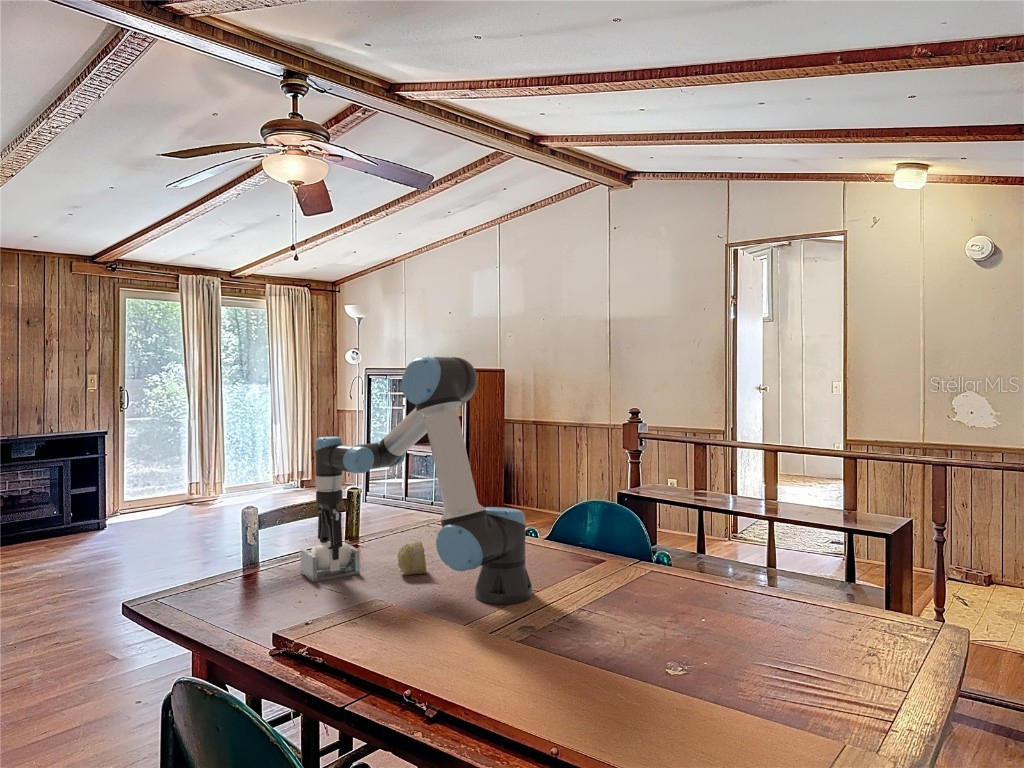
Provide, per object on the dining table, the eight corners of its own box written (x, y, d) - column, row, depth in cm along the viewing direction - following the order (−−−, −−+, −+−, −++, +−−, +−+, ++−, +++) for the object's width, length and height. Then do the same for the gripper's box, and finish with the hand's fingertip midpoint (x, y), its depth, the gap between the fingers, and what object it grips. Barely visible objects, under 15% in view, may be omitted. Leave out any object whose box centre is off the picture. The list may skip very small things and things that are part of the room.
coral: (438, 553, 204) (405, 541, 202) (423, 585, 204) (391, 573, 202) (436, 542, 213) (405, 531, 211) (422, 573, 213) (391, 561, 211)
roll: (341, 565, 213) (340, 541, 214) (350, 567, 207) (348, 542, 208) (311, 570, 208) (310, 545, 209) (319, 572, 202) (317, 547, 203)
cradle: (346, 565, 217) (346, 542, 216) (359, 573, 207) (359, 550, 207) (300, 572, 209) (300, 549, 209) (312, 582, 200) (312, 557, 199)
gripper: (353, 493, 201) (354, 573, 202) (330, 483, 218) (330, 558, 218) (328, 495, 197) (329, 577, 198) (305, 486, 214) (306, 561, 214)
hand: (330, 567), depth 208 cm, fingers closed on roll, 7 cm apart
